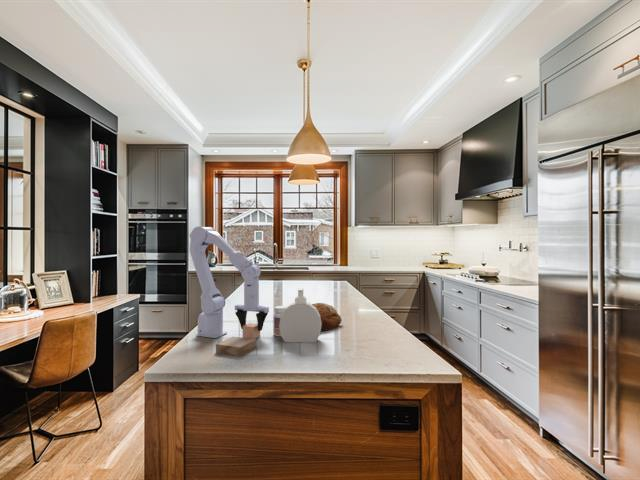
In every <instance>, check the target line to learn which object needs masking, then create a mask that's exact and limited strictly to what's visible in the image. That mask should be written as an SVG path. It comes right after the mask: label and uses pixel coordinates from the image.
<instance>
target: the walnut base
mask: <svg viewBox="0 0 640 480" xmlns="http://www.w3.org/2000/svg"><path fill="white" fill-rule="evenodd" d="M255 349H257V338H256V339H248V338H243V337H239V336H230V337H229V338H226V339H225V340H222V341H220V342H216V343H215V354H223V355H228V356H230V355H231V356H235V357H242V356H244V355H245V354H247V353H250V352H251V351H253V350H255Z"/></svg>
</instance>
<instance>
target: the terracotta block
mask: <svg viewBox="0 0 640 480" xmlns="http://www.w3.org/2000/svg"><path fill="white" fill-rule="evenodd" d="M260 337H261V331H258V323H253V322H252V323H251V322H249V323H246V325H244V326H243V329H242V338H248V339H256V340H257V339H259V338H260Z"/></svg>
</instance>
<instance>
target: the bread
mask: <svg viewBox="0 0 640 480" xmlns="http://www.w3.org/2000/svg"><path fill="white" fill-rule="evenodd" d="M312 305H313V306H314V307H316V309H317V311H318V312H319V314H320V318H321V331H320V332H324V331H325V332H326V331H329V330H333V329H334V328H336V327H337V326H340V324H341V323H342V317H341V315H340V314H339V313H338V311H337V310H336V308H335V307H334V306H332V305H330V304H327V303H324V302H315V303H312Z"/></svg>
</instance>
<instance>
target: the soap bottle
mask: <svg viewBox="0 0 640 480" xmlns="http://www.w3.org/2000/svg"><path fill="white" fill-rule="evenodd" d="M312 304H313V303H312ZM312 304H311V303H310V302H307V298H306V297H305V296H304V288H297V296H296V297H295V298H294V301H293V302H291V303H290V304H288V306H287V307H286V309H285V310H284V312H283V314H282V315H281V318H280V323H279V328H280V334H281V336H280V337H281V338H282V340H283V341H284V343H297V342H304V343H305V342H307V344H308V343H309V344H311V343H313V344H315V343H317V340H318V339H319V337H320V335H321V332H322V331H321V318H320V314H319V312H318V311H317V309H316V307H314V306H313V305H312Z"/></svg>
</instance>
